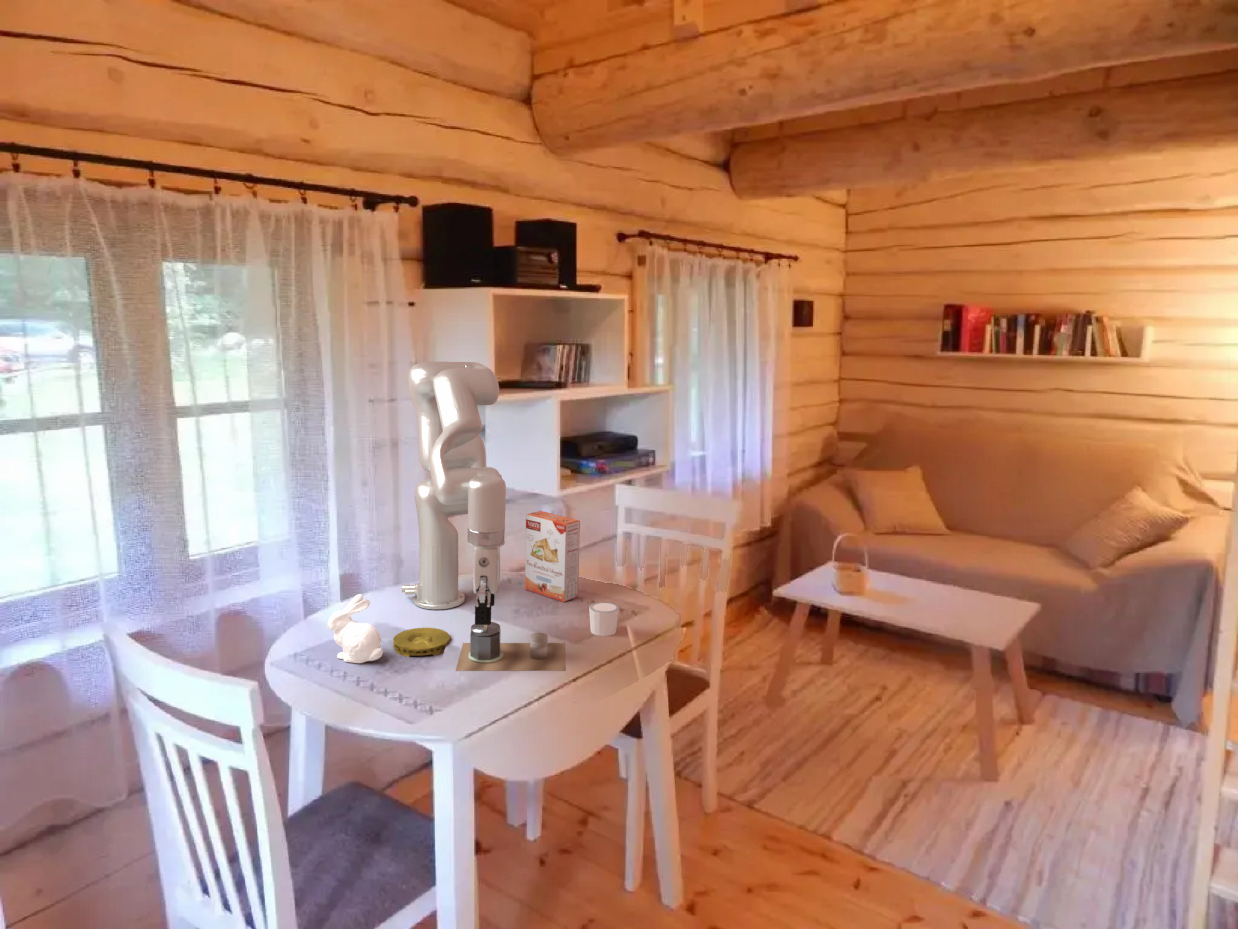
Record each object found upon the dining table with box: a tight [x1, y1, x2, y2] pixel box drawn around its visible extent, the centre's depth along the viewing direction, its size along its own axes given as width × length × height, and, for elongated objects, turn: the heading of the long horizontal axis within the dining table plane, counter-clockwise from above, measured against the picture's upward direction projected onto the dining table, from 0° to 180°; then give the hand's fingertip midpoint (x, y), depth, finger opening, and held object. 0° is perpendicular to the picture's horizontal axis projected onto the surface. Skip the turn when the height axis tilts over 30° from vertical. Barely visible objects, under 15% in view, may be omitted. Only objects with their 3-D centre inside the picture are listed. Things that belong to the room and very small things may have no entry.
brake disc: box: [392, 627, 451, 658], centre depth 179 cm, size 12×12×2 cm
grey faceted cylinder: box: [469, 621, 502, 660], centre depth 172 cm, size 6×6×6 cm
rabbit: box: [327, 593, 384, 664], centre depth 173 cm, size 12×9×12 cm
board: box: [455, 632, 566, 672], centre depth 173 cm, size 22×14×6 cm, turn 95°
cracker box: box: [524, 510, 581, 603], centre depth 213 cm, size 14×6×21 cm, turn 52°
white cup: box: [588, 601, 620, 637], centre depth 188 cm, size 7×7×7 cm
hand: (484, 614), depth 172 cm, fingers open, 9 cm apart
